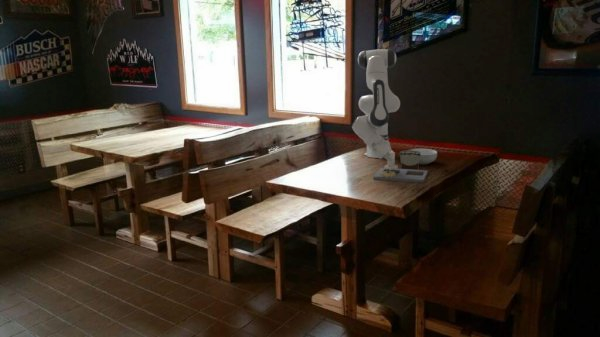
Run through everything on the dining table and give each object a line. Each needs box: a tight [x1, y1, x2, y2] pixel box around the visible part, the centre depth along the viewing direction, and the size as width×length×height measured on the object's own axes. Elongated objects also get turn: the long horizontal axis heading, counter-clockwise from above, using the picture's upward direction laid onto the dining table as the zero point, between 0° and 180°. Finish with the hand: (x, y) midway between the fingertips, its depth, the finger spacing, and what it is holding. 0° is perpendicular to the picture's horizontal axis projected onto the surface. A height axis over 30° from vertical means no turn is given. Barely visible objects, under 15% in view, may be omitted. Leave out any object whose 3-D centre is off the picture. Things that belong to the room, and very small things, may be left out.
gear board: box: [372, 167, 429, 184], centre depth 266 cm, size 20×26×5 cm
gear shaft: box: [383, 151, 399, 170], centre depth 269 cm, size 7×7×9 cm
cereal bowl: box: [410, 148, 438, 165], centre depth 294 cm, size 17×17×7 cm
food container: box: [399, 149, 421, 170], centre depth 282 cm, size 12×6×10 cm, turn 74°
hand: (392, 160), depth 269 cm, fingers closed on gear shaft, 4 cm apart
